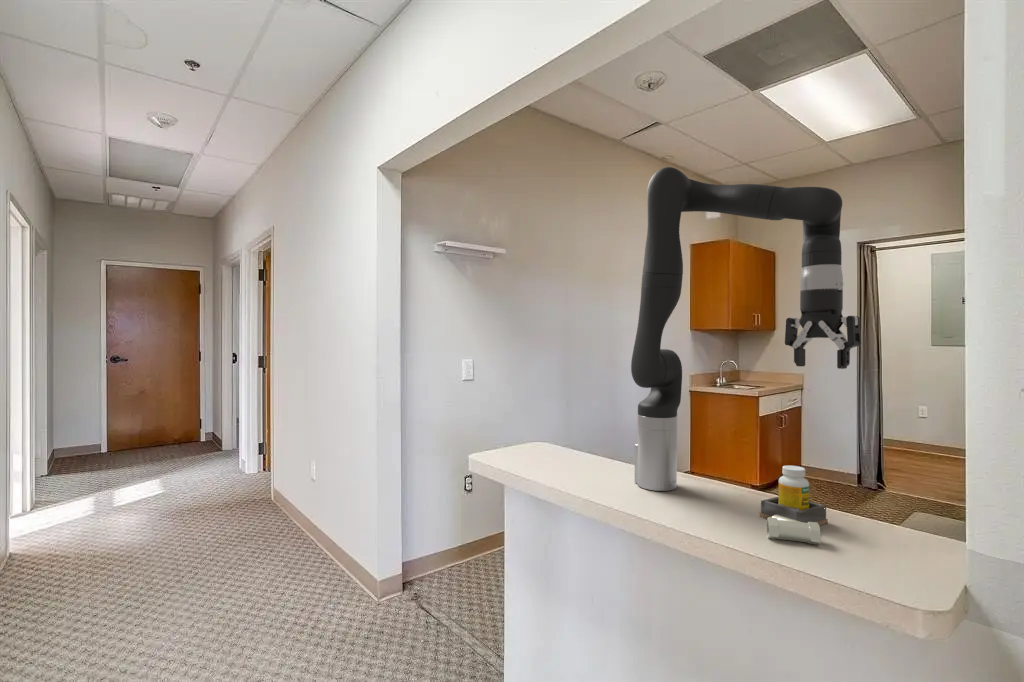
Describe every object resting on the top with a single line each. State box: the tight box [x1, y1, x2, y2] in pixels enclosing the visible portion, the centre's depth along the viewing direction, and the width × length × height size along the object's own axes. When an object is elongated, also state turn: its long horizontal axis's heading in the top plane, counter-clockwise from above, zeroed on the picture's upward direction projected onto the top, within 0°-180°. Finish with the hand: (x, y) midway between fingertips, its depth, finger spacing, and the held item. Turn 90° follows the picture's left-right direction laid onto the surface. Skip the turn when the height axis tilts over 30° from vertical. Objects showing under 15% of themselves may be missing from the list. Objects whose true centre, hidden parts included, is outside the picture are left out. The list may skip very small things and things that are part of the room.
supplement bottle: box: [778, 465, 810, 511], centre depth 102 cm, size 5×5×10 cm
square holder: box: [758, 496, 829, 526], centre depth 102 cm, size 9×9×3 cm
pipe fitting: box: [766, 515, 822, 546], centre depth 93 cm, size 8×4×7 cm
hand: (820, 367), depth 106 cm, fingers open, 8 cm apart
